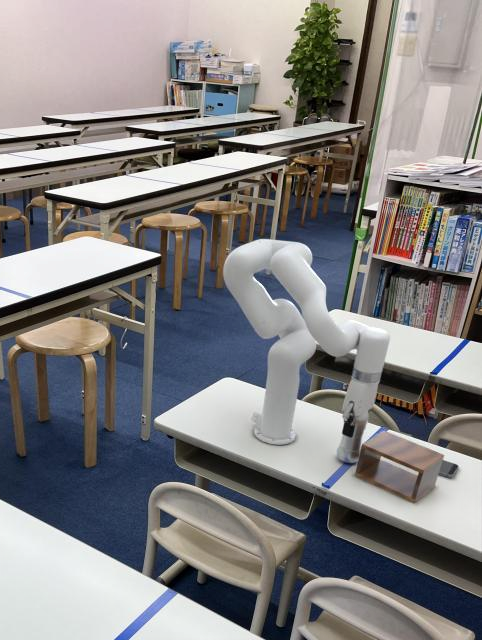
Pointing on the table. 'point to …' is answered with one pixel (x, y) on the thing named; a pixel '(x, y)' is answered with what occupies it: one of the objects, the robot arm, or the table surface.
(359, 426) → the plastic bottle
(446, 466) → the phone
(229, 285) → the robot arm
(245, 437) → the table surface
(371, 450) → the shelf rack
